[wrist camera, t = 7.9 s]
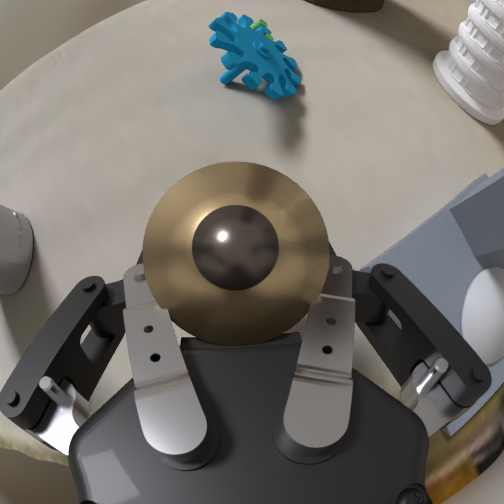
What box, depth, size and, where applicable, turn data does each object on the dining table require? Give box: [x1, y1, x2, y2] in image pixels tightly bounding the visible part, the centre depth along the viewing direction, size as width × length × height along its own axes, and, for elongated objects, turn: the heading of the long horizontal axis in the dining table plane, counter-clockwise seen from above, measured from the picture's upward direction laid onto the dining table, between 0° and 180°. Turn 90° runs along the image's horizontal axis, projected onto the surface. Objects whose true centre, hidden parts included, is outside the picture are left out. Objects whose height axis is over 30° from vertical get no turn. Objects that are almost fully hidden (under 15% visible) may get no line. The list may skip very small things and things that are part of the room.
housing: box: [142, 162, 330, 346], centre depth 12 cm, size 5×5×10 cm
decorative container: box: [432, 0, 504, 125], centre depth 13 cm, size 12×12×18 cm
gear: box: [209, 12, 301, 100], centre depth 21 cm, size 11×6×10 cm
